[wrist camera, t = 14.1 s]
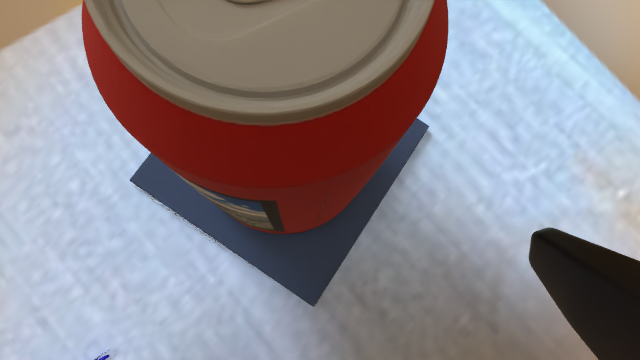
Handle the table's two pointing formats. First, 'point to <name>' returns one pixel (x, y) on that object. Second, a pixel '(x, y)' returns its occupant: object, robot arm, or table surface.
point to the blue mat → (283, 249)
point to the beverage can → (268, 93)
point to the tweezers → (103, 357)
